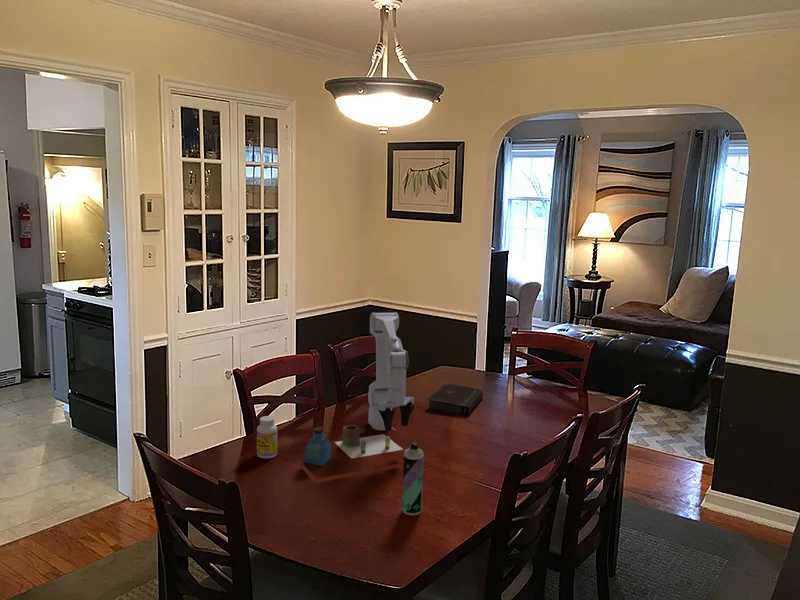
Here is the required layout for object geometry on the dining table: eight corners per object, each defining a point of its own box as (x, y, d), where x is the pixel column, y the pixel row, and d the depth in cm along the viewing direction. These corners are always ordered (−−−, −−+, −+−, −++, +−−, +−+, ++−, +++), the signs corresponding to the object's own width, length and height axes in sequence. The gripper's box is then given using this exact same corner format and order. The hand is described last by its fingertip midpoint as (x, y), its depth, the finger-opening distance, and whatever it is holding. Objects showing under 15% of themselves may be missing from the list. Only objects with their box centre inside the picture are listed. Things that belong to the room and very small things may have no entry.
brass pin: (384, 447, 230) (384, 436, 230) (388, 447, 231) (388, 436, 230) (386, 449, 229) (386, 438, 228) (390, 448, 230) (390, 437, 229)
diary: (483, 399, 290) (483, 388, 290) (468, 418, 267) (469, 406, 266) (441, 393, 297) (442, 382, 296) (423, 410, 273) (424, 398, 272)
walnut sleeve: (341, 442, 233) (342, 426, 232) (354, 440, 236) (354, 424, 235) (347, 447, 229) (347, 431, 228) (360, 445, 231) (360, 429, 230)
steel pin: (360, 451, 226) (360, 440, 226) (364, 451, 227) (364, 439, 226) (361, 453, 225) (362, 442, 224) (366, 452, 226) (366, 441, 225)
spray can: (401, 506, 192) (403, 439, 189) (420, 506, 193) (422, 439, 189) (402, 515, 187) (405, 447, 183) (422, 515, 187) (425, 447, 184)
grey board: (334, 445, 234) (334, 442, 234) (383, 437, 243) (383, 434, 243) (351, 461, 221) (351, 458, 221) (403, 452, 230) (403, 449, 229)
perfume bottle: (330, 461, 221) (331, 426, 219) (322, 469, 215) (322, 433, 213) (313, 458, 223) (313, 424, 221) (304, 466, 217) (305, 430, 215)
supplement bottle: (252, 457, 222) (252, 419, 220) (264, 449, 229) (263, 413, 226) (270, 460, 220) (270, 423, 218) (281, 453, 226) (281, 416, 224)
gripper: (389, 393, 215) (389, 435, 216) (420, 386, 225) (420, 426, 226) (374, 389, 220) (374, 430, 221) (405, 382, 230) (405, 421, 231)
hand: (396, 427), depth 224 cm, fingers open, 7 cm apart
